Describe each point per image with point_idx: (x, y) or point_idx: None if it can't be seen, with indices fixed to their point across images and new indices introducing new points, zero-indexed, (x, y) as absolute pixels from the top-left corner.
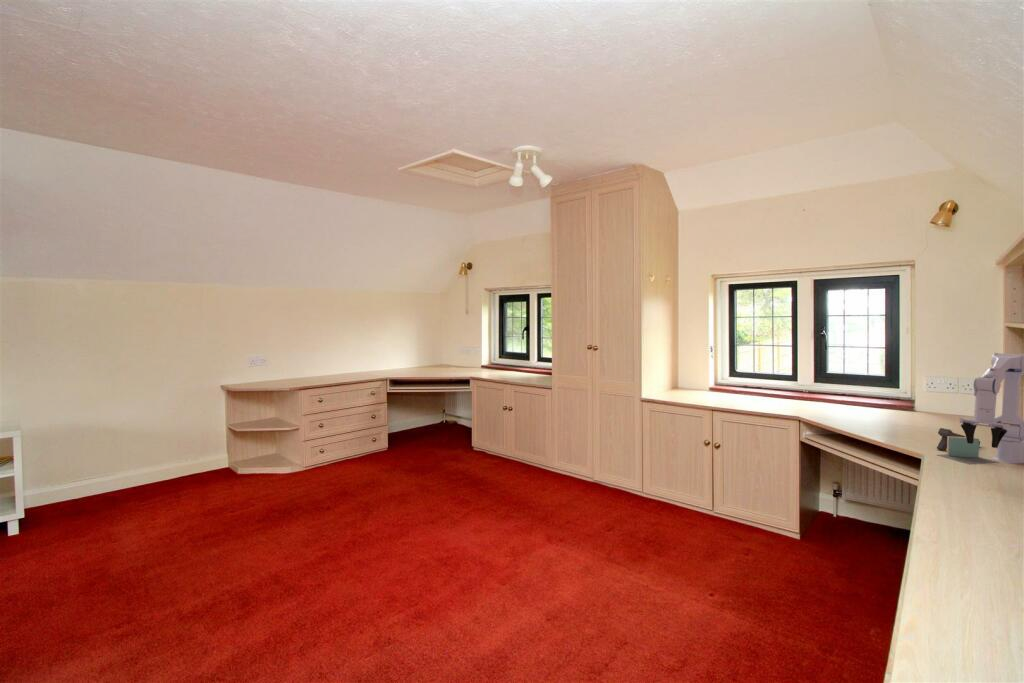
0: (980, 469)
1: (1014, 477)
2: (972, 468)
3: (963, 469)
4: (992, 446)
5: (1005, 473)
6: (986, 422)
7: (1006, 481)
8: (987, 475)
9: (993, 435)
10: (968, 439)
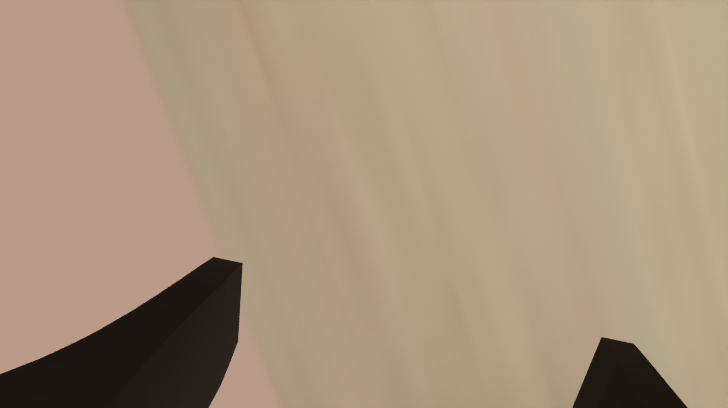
0: (495, 342)
1: None
2: (553, 326)
3: (601, 220)
4: (225, 265)
5: (324, 358)
6: None
7: (212, 75)
8: (384, 164)
9: (82, 381)
10: (638, 382)
